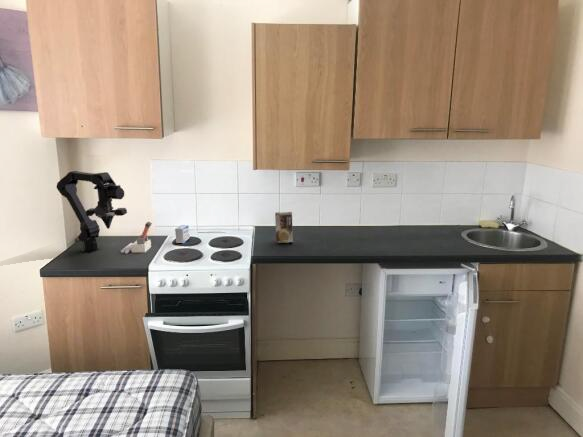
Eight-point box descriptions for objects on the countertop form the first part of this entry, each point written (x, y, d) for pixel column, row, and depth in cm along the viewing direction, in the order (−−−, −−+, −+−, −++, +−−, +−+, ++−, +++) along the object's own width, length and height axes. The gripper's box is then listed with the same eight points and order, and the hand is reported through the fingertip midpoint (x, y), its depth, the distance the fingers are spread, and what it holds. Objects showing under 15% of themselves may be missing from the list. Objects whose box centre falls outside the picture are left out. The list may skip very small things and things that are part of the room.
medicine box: (183, 244, 242) (182, 228, 240) (176, 244, 243) (174, 228, 241) (189, 240, 249) (188, 225, 247) (182, 239, 250) (181, 224, 248)
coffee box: (292, 240, 245) (292, 211, 241) (293, 244, 239) (292, 214, 235) (276, 240, 245) (275, 212, 241) (275, 244, 239) (275, 214, 235)
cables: (127, 254, 227) (126, 251, 227) (119, 254, 228) (118, 251, 227) (137, 245, 242) (137, 242, 241) (130, 245, 242) (130, 242, 242)
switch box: (131, 252, 230) (130, 239, 228) (138, 247, 239) (136, 234, 237) (145, 252, 230) (143, 239, 228) (151, 246, 239) (149, 234, 237)
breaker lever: (139, 240, 231) (145, 223, 229) (141, 238, 235) (148, 221, 232) (142, 242, 231) (149, 224, 229) (144, 240, 235) (151, 223, 232)
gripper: (78, 201, 215) (82, 233, 219) (116, 201, 214) (120, 232, 218) (89, 197, 226) (93, 227, 230) (125, 196, 225) (129, 226, 229)
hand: (108, 228), depth 226 cm, fingers closed
